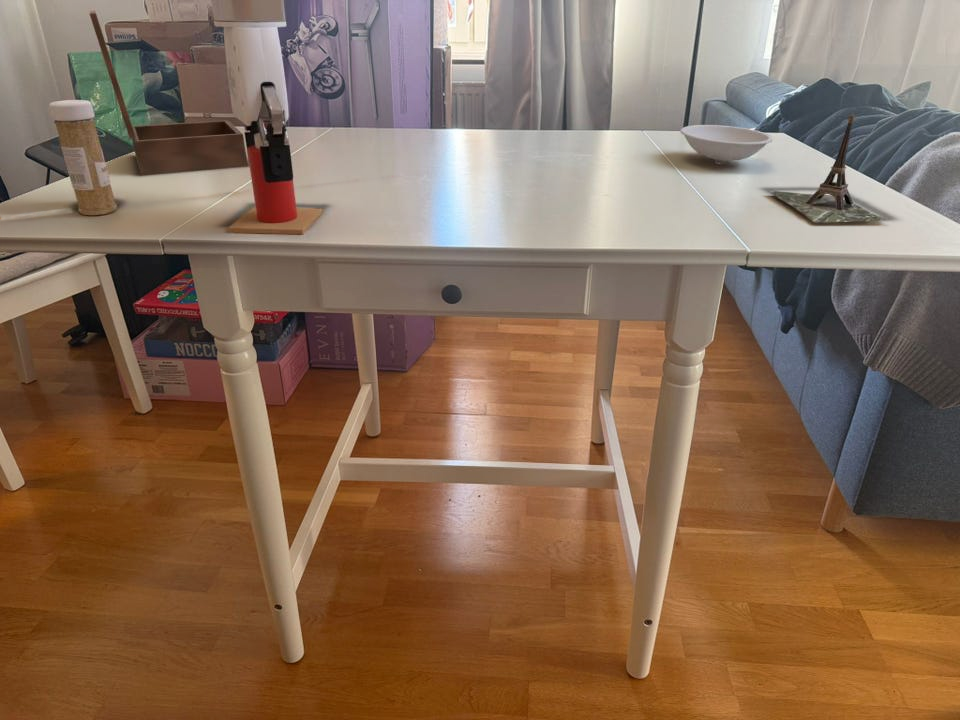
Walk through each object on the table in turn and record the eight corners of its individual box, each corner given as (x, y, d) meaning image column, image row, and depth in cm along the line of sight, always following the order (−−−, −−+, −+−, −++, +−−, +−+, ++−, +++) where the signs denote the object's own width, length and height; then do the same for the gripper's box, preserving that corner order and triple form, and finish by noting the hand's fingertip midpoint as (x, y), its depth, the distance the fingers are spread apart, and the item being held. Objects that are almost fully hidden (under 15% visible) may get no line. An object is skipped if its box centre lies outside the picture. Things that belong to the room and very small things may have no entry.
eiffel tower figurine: (764, 194, 98) (785, 97, 92) (832, 194, 99) (857, 98, 93) (813, 225, 85) (841, 114, 79) (891, 225, 86) (925, 115, 79)
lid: (95, 10, 102) (89, 11, 101) (95, 12, 90) (89, 13, 90) (130, 122, 110) (125, 123, 110) (135, 137, 99) (129, 138, 98)
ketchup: (261, 225, 81) (249, 139, 76) (254, 215, 85) (241, 132, 80) (301, 220, 83) (291, 136, 78) (292, 210, 86) (282, 129, 82)
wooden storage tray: (233, 154, 119) (228, 120, 116) (248, 171, 108) (243, 134, 105) (137, 162, 113) (128, 126, 110) (142, 181, 101) (133, 141, 99)
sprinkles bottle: (124, 210, 88) (98, 101, 81) (90, 218, 84) (59, 105, 78) (106, 204, 90) (79, 97, 84) (71, 212, 87) (40, 101, 80)
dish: (662, 153, 124) (666, 125, 122) (735, 152, 126) (740, 124, 124) (702, 175, 109) (707, 143, 106) (785, 174, 111) (792, 142, 108)
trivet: (228, 232, 80) (227, 227, 80) (254, 211, 88) (254, 206, 88) (303, 234, 80) (302, 229, 79) (322, 213, 88) (322, 208, 87)
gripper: (202, 9, 78) (226, 161, 86) (225, 13, 64) (252, 192, 73) (267, 10, 81) (285, 156, 89) (303, 13, 68) (320, 185, 76)
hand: (270, 172), depth 81 cm, fingers open, 9 cm apart
